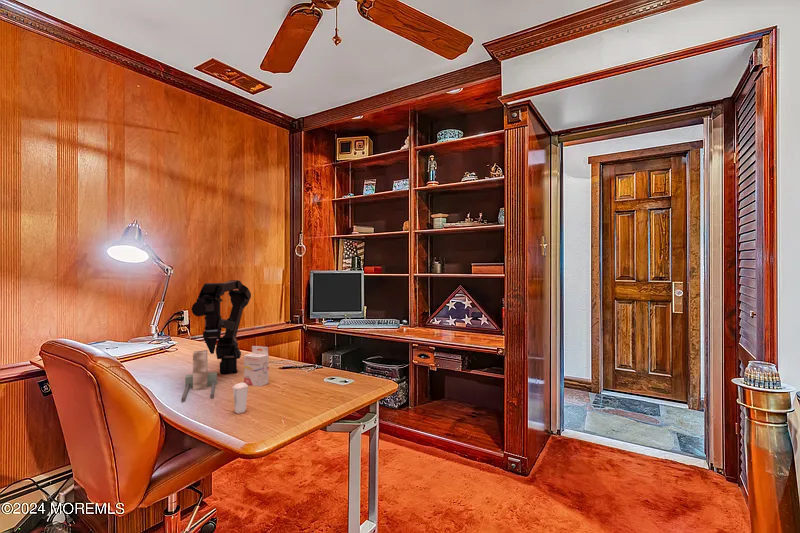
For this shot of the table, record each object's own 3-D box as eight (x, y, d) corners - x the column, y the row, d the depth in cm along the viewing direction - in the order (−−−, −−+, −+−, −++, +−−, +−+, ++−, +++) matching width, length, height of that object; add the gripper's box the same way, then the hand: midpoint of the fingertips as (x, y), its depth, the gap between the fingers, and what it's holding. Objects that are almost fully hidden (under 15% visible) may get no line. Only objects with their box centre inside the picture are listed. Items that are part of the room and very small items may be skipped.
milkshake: (232, 409, 128) (232, 378, 128) (249, 409, 128) (249, 378, 128) (228, 414, 123) (227, 383, 123) (245, 414, 124) (245, 382, 124)
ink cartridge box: (243, 384, 155) (243, 347, 155) (251, 381, 160) (251, 345, 160) (261, 386, 152) (261, 349, 152) (269, 383, 157) (269, 346, 157)
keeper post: (207, 385, 154) (207, 350, 154) (206, 389, 150) (206, 352, 150) (194, 387, 152) (194, 351, 152) (193, 390, 148) (192, 353, 148)
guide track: (216, 381, 160) (216, 371, 160) (215, 398, 139) (215, 386, 139) (186, 385, 155) (186, 374, 155) (179, 402, 135) (179, 390, 135)
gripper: (234, 314, 155) (234, 354, 155) (234, 310, 173) (234, 345, 173) (202, 316, 151) (202, 356, 151) (205, 311, 168) (206, 348, 168)
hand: (212, 351), depth 161 cm, fingers open, 9 cm apart
